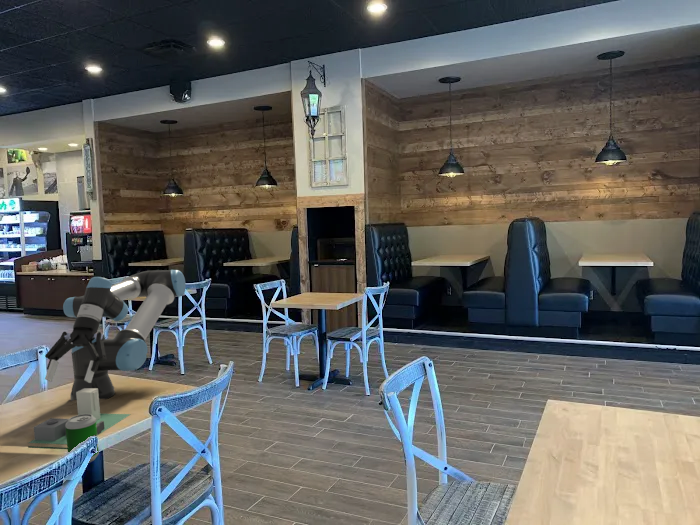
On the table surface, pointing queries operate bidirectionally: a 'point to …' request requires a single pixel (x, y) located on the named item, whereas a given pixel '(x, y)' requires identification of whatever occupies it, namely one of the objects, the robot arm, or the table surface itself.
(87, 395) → the plug
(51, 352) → the robot arm
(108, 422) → the board
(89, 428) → the soda can
